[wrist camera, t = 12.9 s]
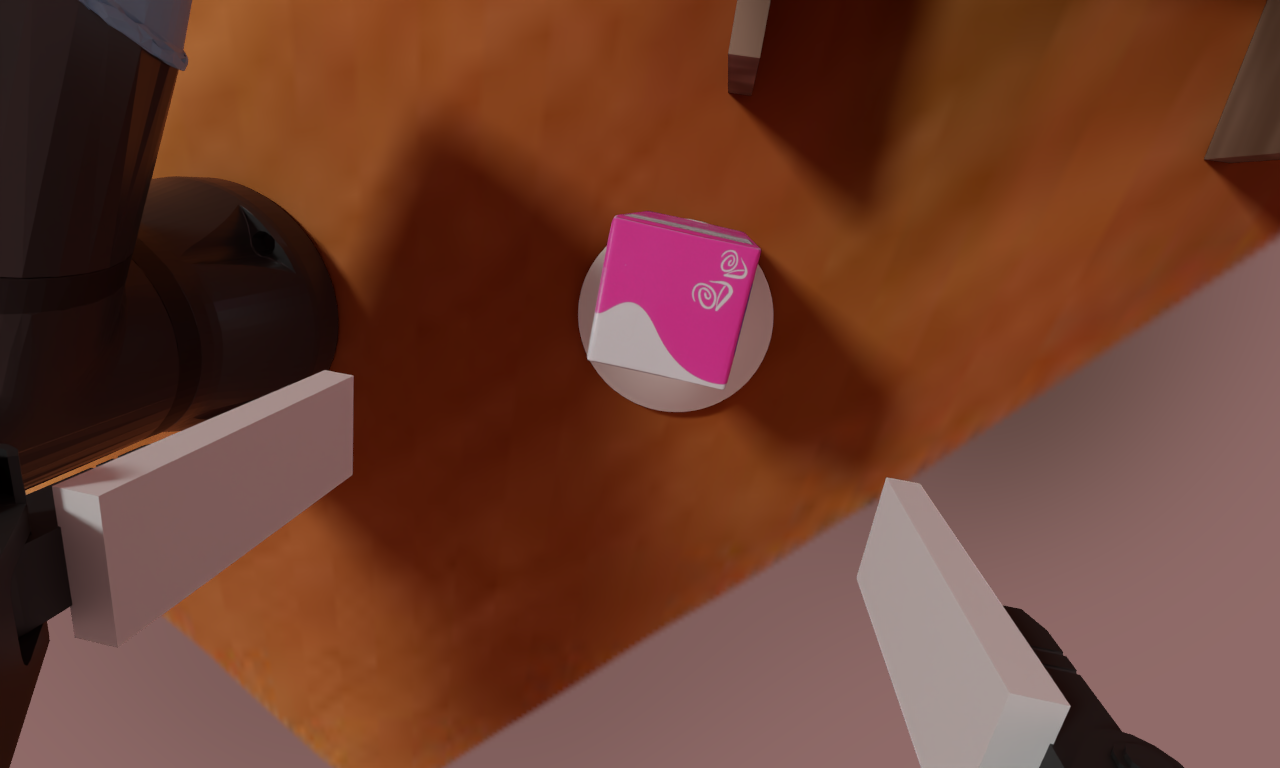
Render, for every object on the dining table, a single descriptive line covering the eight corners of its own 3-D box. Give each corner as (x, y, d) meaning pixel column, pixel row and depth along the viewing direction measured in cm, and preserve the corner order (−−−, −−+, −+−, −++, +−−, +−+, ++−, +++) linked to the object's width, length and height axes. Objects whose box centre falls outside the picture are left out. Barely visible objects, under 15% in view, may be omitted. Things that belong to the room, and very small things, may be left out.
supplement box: (725, 335, 35) (724, 398, 24) (622, 311, 35) (576, 362, 24) (751, 231, 33) (764, 247, 22) (643, 207, 33) (603, 211, 23)
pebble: (571, 389, 38) (567, 393, 37) (593, 203, 35) (590, 203, 34) (751, 423, 37) (751, 427, 36) (791, 235, 34) (793, 235, 33)
